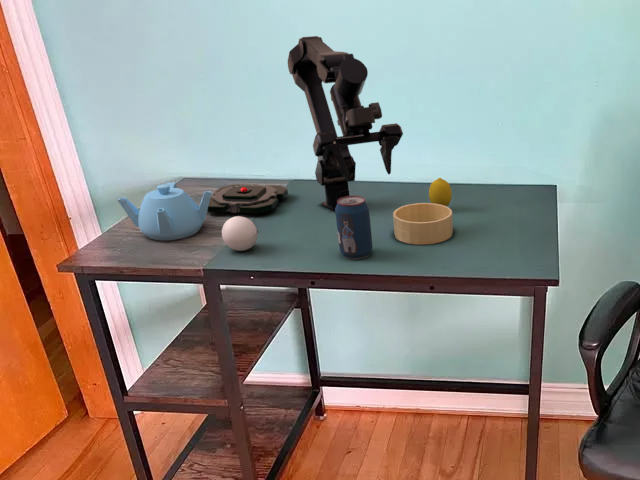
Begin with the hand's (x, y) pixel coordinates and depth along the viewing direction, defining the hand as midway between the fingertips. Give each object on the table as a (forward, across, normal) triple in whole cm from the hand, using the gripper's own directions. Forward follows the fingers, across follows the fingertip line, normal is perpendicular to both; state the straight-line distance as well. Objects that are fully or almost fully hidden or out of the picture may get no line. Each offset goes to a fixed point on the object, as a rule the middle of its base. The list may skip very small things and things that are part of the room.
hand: (369, 176), depth 152 cm
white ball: (+5, -27, +17) cm, 32 cm away
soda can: (+15, -6, +5) cm, 17 cm away
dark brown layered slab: (-13, -20, +38) cm, 45 cm away
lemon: (+4, +21, +18) cm, 28 cm away
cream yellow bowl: (+12, +11, +8) cm, 18 cm away
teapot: (-6, -39, +30) cm, 50 cm away
